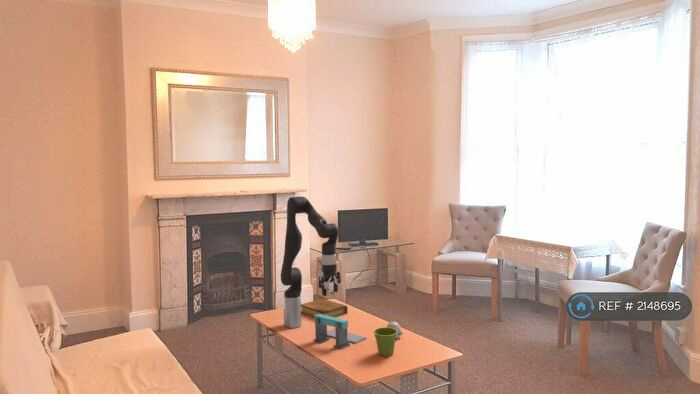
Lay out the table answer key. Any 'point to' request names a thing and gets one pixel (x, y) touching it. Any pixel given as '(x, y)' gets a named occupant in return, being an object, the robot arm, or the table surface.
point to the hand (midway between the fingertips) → (330, 293)
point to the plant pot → (385, 340)
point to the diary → (324, 308)
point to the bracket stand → (322, 337)
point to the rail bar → (331, 321)
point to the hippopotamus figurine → (395, 326)
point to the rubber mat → (350, 337)
